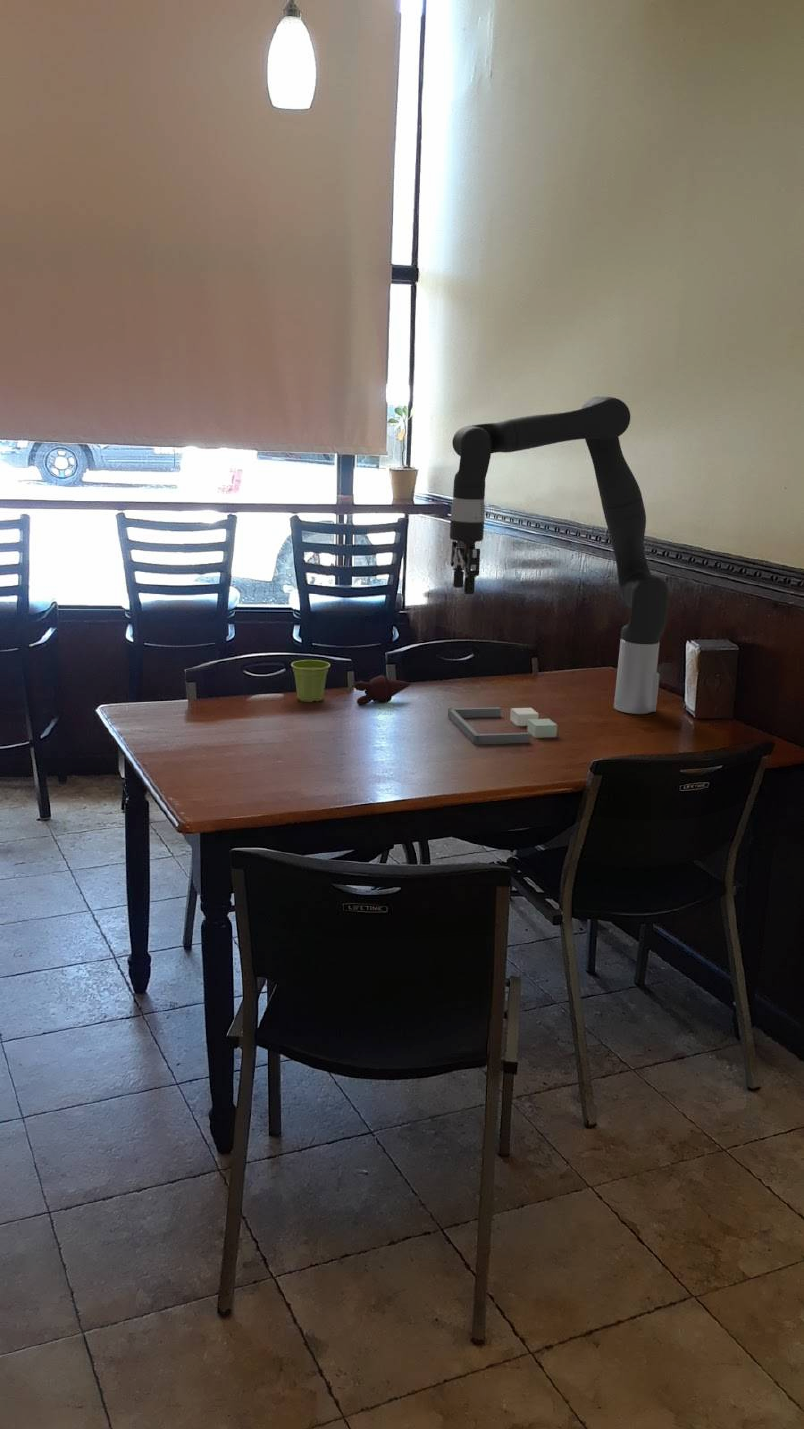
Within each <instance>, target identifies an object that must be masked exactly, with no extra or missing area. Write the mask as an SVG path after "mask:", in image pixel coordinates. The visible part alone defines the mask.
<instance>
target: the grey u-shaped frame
mask: <svg viewBox="0 0 804 1429" xmlns="http://www.w3.org/2000/svg"><path fill="white" fill-rule="evenodd" d="M501 716H502V708H501V707H499V706H498V707H497V706H496V707H493V706H492V707H462V708H459V707H458V708H456V707H455V708H454V707H453V708H448V712H447V717H448V719H449V720H450V721H452V723H453V724H454V725H455V726H456V727H457V728H458V729H459V730H460V731H461V732H462V733H463V734H464V735H465V737H467V738H468V739H469V741H471V742H472V744H473V745H477V746H478V745H498V744H499V745H501V744H530V743H531V740H530V739H531V734H530V733H529V732H508V733H507V732H506V733H505V732H504V733H478V732H477V731H476V730H475V729H474V727H472V726H471V725H470V724H469V723H468V722H467V721H466V720H465V718H467V719H468V718H500V717H501Z"/></svg>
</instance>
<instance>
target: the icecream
mask: <svg viewBox="0 0 804 1429" xmlns="http://www.w3.org/2000/svg"><path fill="white" fill-rule="evenodd" d="M409 686H411V682H407V681H403V680H397V679H391V678H388V677H387V676H385V675H384V674H381V675H378V676H376V677H373V678H372V679H370V681H369V682H366V681H363V680H360V681H355V683H354V685H353V688H354V689H355V690H356V691H359V692H364V694H365V695H362V696H360V697H358V698H357V700H356V704H357V705H358V706H364V705H367V704H369V703H370V702H374V703H378V704H379V703H381V704H384V703H387V702H388V703H389V702H391V701H392V698H393V697H394V696H396V695H397V694H399V693H400V692H402V691H403V690H405V689H406V688H408V687H409Z"/></svg>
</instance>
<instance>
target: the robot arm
mask: <svg viewBox="0 0 804 1429" xmlns="http://www.w3.org/2000/svg"><path fill="white" fill-rule="evenodd" d="M630 423H631V411H630V409H629V407H628V405H627V404H626V403H625V402H624V401H623V400H621V399H619V398H617V397H611V396H594V397H590V398H589V399H587V400H586V401H585V402H584V404H583V405H582V406H581V408H580V409H576V410H571V411H565V412H557V413H546V414H545V413H543V414H534V415H527V416H521V417H514V418H510V419H505V420H503V421H497V422H491V423H480V424H479V423H478V424H472V425H467V426H463V427H461V428H459V429H458V430H457V431H456V432H455V433H454V435H453V438H452V448H453V451H454V452H455V453H456V454H457V455H458V456H459V457H460V458H459V467H458V471H457V472H456V473H455V475H454V479H453V491H452V502H451V508H450V525H449V526H450V527H449V538H450V540H452V542H451V557H450V566H451V567H452V570H453V580H452V581H453V582H452V584H453V588H457V589H458V588H459V589H460V588H461V589H462V588H463V593H464V594H465V595H474V593H475V584H476V583H475V582H476V578H477V577H479V576H480V565H481V564H480V561H481V549H480V548H476V542H482V541H483V540H484V532H485V531H484V530H485V529H484V528H485V515H486V514H485V513H486V504H485V495H486V479H487V478H486V477H487V473H488V469H489V466H490V461H491V456H492V454H496V453H514V452H518V451H525V450H530V449H535V448H538V447H544V446H548V445H553V444H557V443H562V442H570V441H575V440H585V443H586V445H587V449H588V451H589V455H590V458H591V461H592V465H593V469H594V474H595V479H596V483H597V489H598V492H599V497H600V501H601V508H602V512H603V514H604V519H605V523H606V527H607V530H608V534H609V538H610V539H609V540H610V542H611V543H610V544H611V546H612V550H613V553H614V558H615V559H614V560H615V563H616V570H617V572H616V573H617V579H618V587H619V588H618V589H619V593H620V597H621V600H622V602H623V603H624V605H626V606H627V607H628V608H630V614H629V619H628V623H627V624H626V625H624V626H622V628H621V631H620V643H619V653H618V662H617V672H616V673H617V674H616V682H615V692H614V698H613V699H614V701H613V708H614V709H615V710H616V711H619V712H621V713H627V714H631V715H632V714H634V715H645V714H649V713H653V712H657V711H656V710H657V702H658V695H659V694H658V692H659V684H660V673H659V672H657V671H658V669H657V668H658V662H659V661H658V660H659V653H660V652H659V651H660V643H661V642H660V641H661V636H662V634H663V632H664V630H665V627H666V620H667V615H668V609H669V603H670V602H669V599H670V593H669V592H670V591H669V587H668V584H667V582H665V580H664V579H663V578H661V577H659V576H656V575H654V574H652V573H651V570H650V568H649V564H648V561H647V558H646V557H647V556H646V554H645V547H644V546H645V544H644V542H645V535H646V527H647V526H646V525H647V515H646V510H645V509H646V508H645V505H644V500H643V496H642V495H643V494H642V491H641V489H640V486H639V483H638V482H637V479H636V478H635V476H634V474H633V472H632V470H631V468H630V467H629V465H628V463H627V461H626V459H625V457H624V455H623V450H622V447H621V442H620V437H621V436H622V435H623V434H624V433H625V432H626V431H627V429H628V428H629V425H630Z"/></svg>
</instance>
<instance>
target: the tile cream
mask: <svg viewBox="0 0 804 1429" xmlns="http://www.w3.org/2000/svg"><path fill="white" fill-rule="evenodd" d="M509 715H510V717H509V720H510V721H511V722H512V723H513V724H514V725H515V726H517V727H526V726H527V727H528V719H539V715H540V714H539V712H537V711H536V710H535V709H533V708H532V707H513V708H512V707H511V708H510V714H509Z"/></svg>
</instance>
